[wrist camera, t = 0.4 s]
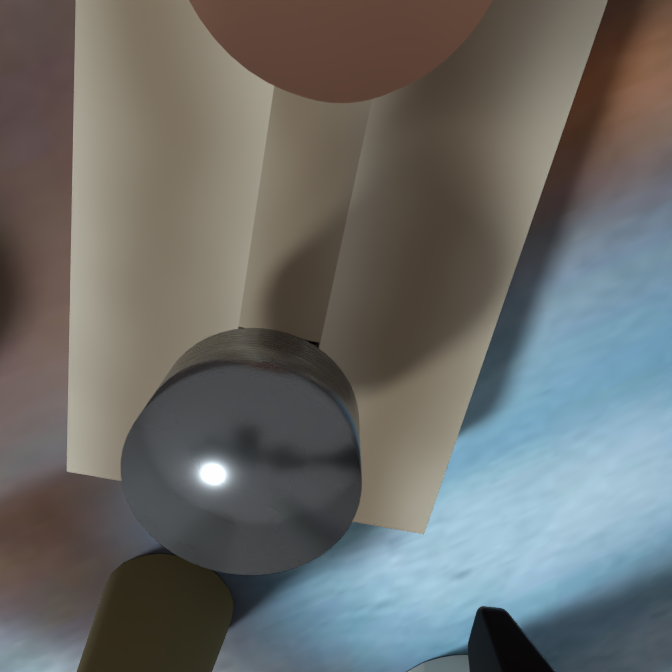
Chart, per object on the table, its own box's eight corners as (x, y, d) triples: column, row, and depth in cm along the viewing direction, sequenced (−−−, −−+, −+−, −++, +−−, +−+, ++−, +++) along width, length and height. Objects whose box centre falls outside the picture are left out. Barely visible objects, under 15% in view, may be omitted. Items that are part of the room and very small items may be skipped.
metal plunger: (372, 299, 16) (387, 403, 10) (338, 437, 18) (335, 591, 12) (206, 265, 16) (127, 353, 10) (189, 410, 18) (114, 554, 12)
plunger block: (600, -144, 15) (687, -231, 11) (411, 463, 22) (423, 534, 18) (153, -261, 14) (83, -397, 10) (115, 409, 21) (66, 471, 18)
